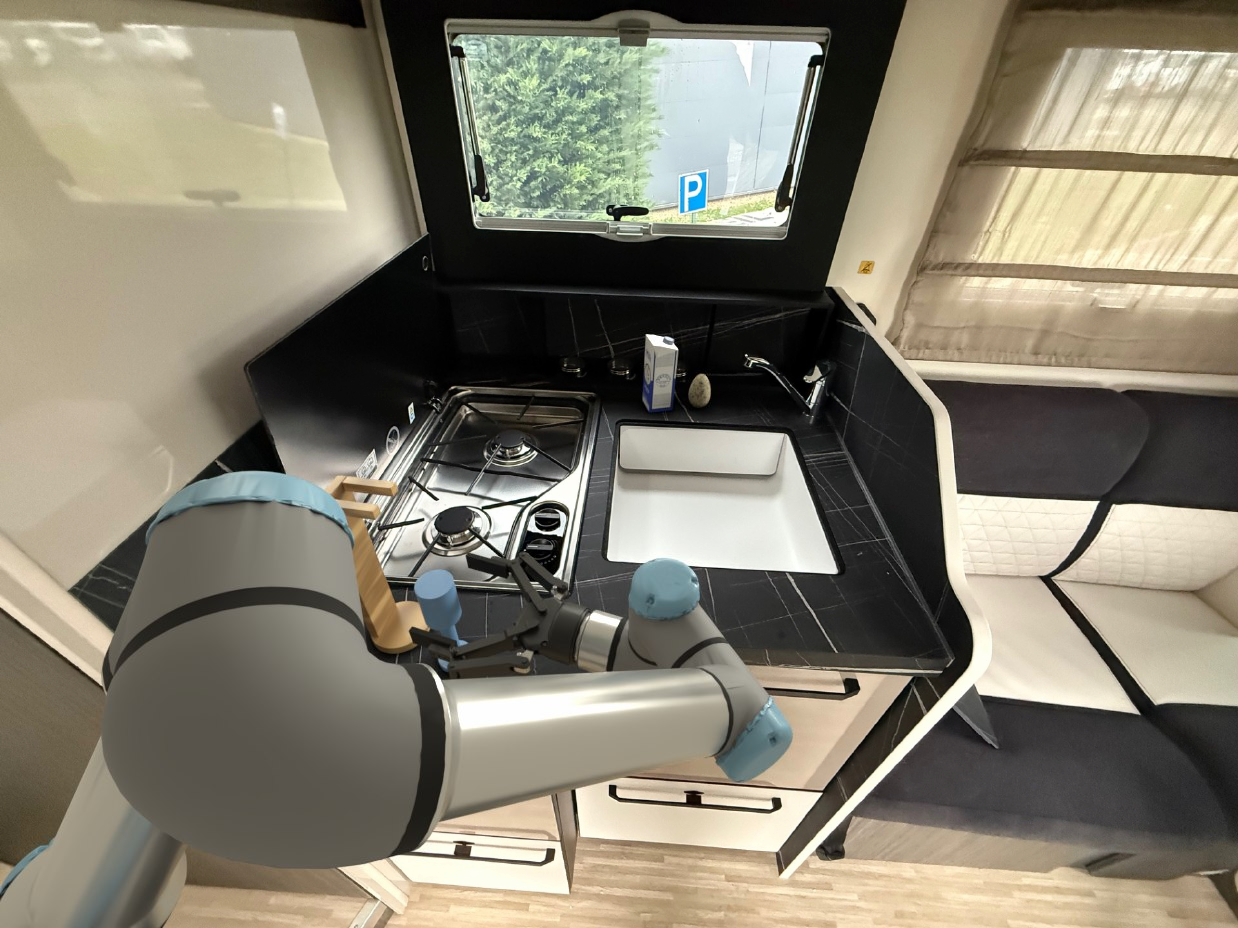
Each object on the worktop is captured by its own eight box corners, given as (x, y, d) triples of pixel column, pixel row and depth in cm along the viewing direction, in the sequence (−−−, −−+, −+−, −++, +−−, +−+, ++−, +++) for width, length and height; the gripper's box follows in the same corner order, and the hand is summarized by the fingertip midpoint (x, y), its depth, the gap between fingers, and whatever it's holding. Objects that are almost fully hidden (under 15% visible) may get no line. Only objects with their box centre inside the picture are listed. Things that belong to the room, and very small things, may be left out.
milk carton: (642, 400, 147) (645, 333, 135) (664, 397, 149) (670, 331, 137) (649, 412, 142) (653, 344, 130) (672, 410, 143) (679, 342, 131)
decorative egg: (698, 398, 149) (702, 367, 143) (713, 407, 145) (717, 375, 139) (682, 405, 146) (686, 373, 140) (697, 414, 142) (702, 381, 136)
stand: (442, 610, 90) (401, 474, 71) (418, 658, 82) (365, 520, 64) (390, 602, 91) (336, 467, 72) (361, 649, 83) (294, 511, 65)
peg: (446, 679, 80) (421, 605, 69) (434, 654, 83) (408, 580, 72) (478, 661, 82) (459, 587, 71) (465, 637, 85) (445, 563, 74)
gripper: (546, 745, 60) (391, 689, 65) (614, 584, 79) (490, 550, 84) (541, 712, 56) (375, 655, 61) (614, 550, 75) (483, 517, 80)
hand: (442, 594), depth 73 cm, fingers open, 13 cm apart
